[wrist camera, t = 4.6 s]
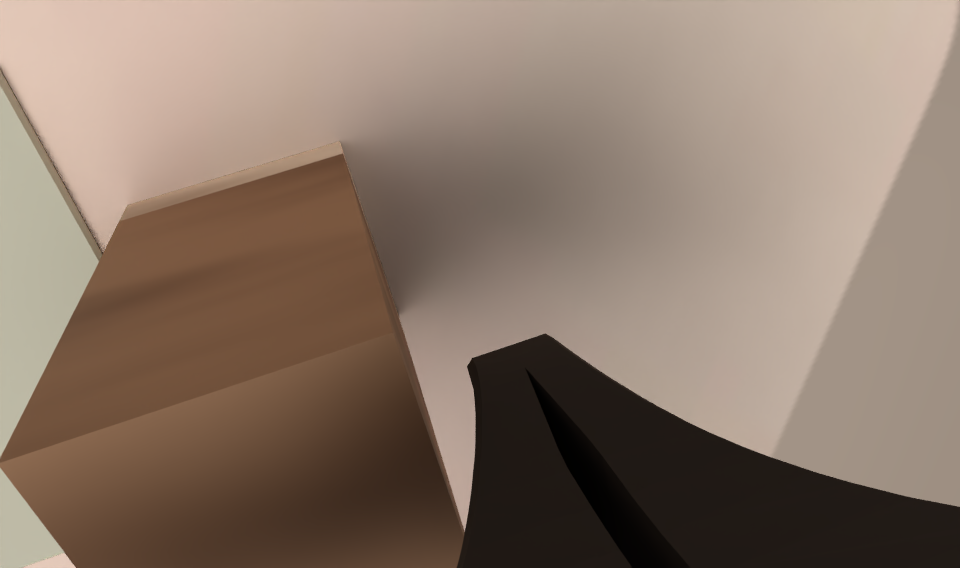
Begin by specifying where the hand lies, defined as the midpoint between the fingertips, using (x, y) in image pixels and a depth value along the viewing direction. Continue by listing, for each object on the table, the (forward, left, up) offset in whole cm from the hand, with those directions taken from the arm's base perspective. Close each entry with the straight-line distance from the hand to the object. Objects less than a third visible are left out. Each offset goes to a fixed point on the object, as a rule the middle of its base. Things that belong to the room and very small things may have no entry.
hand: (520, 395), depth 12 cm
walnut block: (0, +4, -8) cm, 9 cm away
